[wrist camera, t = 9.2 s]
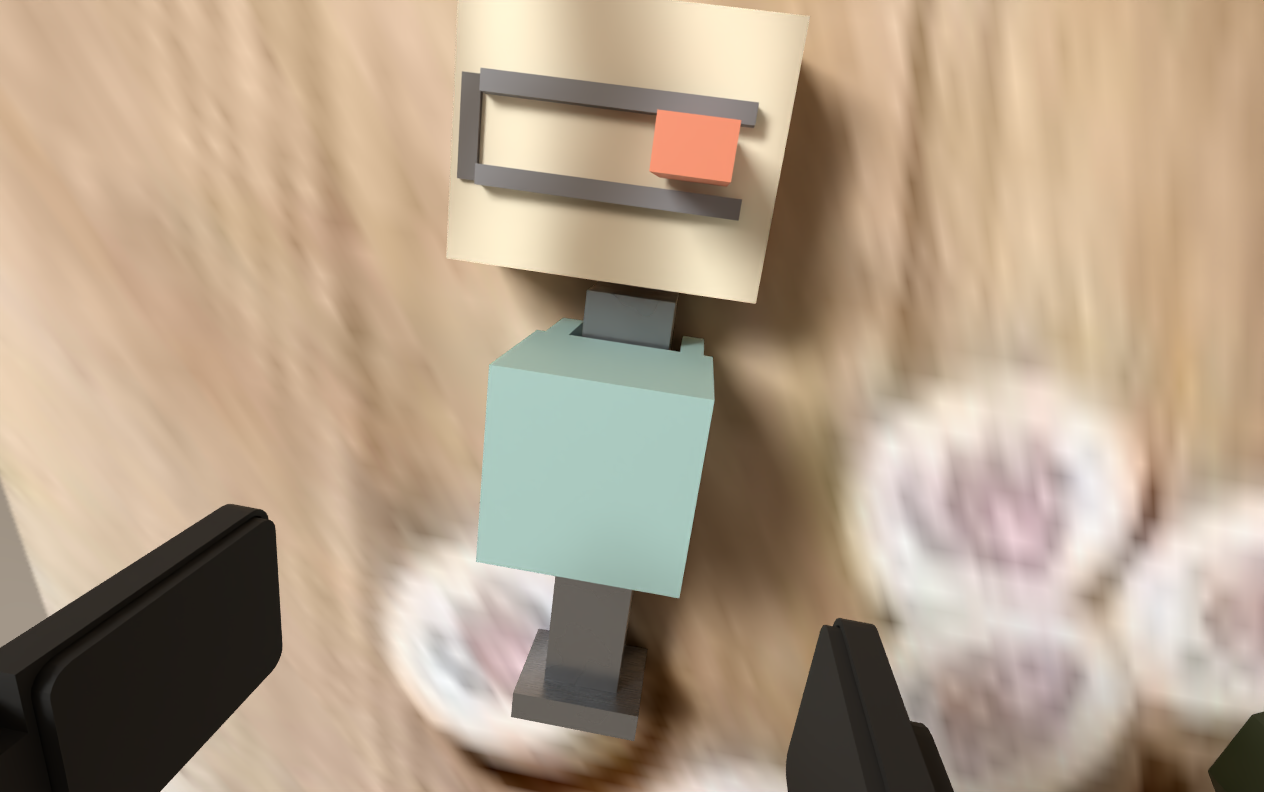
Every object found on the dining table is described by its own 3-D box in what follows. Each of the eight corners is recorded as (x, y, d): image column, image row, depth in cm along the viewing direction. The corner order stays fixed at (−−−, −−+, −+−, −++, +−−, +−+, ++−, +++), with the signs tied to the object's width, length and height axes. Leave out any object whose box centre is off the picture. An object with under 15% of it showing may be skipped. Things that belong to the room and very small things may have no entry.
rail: (705, 295, 24) (705, 312, 20) (643, 671, 29) (634, 741, 25) (575, 276, 24) (550, 289, 21) (536, 650, 29) (511, 716, 26)
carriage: (712, 340, 24) (714, 400, 17) (687, 485, 26) (679, 598, 18) (555, 316, 24) (489, 364, 17) (541, 460, 26) (476, 561, 19)
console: (791, 49, 21) (813, 9, 17) (747, 288, 24) (757, 306, 19) (501, 15, 22) (450, -33, 18) (486, 250, 24) (438, 259, 20)
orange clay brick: (735, 135, 18) (741, 120, 15) (726, 186, 19) (730, 182, 15) (666, 126, 18) (657, 109, 15) (659, 177, 19) (649, 171, 16)
